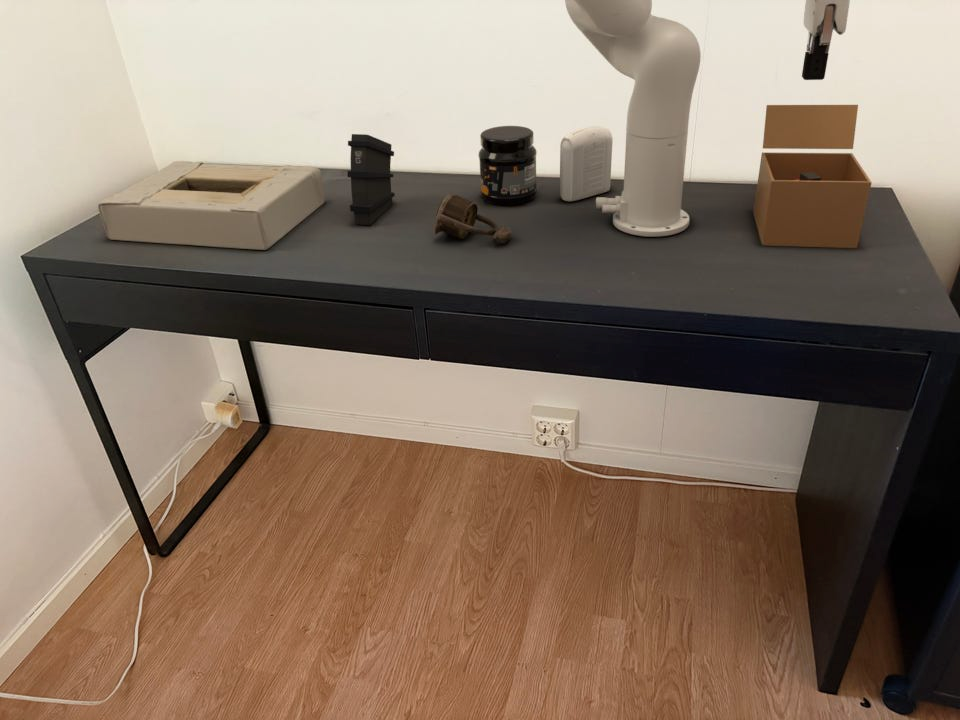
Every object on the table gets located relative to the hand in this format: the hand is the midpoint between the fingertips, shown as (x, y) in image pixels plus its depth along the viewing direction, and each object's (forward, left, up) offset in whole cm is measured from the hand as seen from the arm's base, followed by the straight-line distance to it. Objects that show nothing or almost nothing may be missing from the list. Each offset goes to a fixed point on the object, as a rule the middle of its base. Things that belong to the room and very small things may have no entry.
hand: (812, 78), depth 124 cm
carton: (0, -13, -21) cm, 24 cm away
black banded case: (-73, -10, -21) cm, 77 cm away
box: (-101, -16, -21) cm, 105 cm away
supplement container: (-50, -1, -21) cm, 54 cm away
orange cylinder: (0, -13, -20) cm, 24 cm away
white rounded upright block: (-36, +1, -21) cm, 42 cm away
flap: (0, -5, -6) cm, 8 cm away
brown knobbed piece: (-53, -21, -21) cm, 61 cm away
